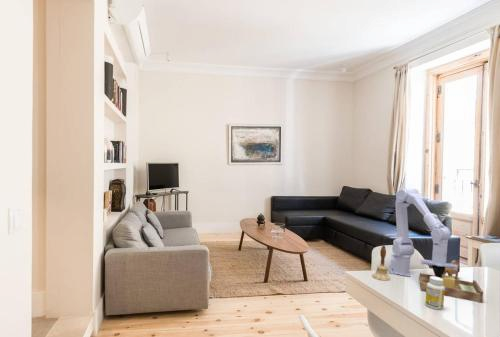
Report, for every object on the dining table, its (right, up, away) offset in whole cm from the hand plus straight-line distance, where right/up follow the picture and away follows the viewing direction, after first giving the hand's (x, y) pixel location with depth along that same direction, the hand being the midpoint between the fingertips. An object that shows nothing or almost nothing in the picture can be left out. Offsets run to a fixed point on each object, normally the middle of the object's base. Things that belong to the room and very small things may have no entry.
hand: (437, 282), depth 152 cm
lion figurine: (+14, -4, +14) cm, 21 cm away
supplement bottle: (-13, -3, -20) cm, 24 cm away
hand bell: (-22, -2, +10) cm, 24 cm away
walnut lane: (+4, -3, -2) cm, 5 cm away
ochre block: (+4, -1, -2) cm, 4 cm away
